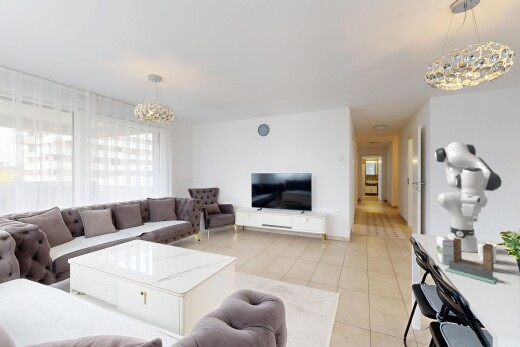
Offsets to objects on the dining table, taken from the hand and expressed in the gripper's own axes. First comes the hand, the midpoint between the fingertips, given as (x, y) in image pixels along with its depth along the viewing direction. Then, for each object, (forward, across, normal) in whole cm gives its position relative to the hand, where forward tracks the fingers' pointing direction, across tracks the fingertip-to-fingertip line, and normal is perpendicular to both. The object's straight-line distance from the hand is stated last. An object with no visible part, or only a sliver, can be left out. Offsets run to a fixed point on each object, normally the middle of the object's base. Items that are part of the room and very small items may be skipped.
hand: (472, 222), depth 117 cm
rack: (+26, -5, -1) cm, 26 cm away
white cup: (+26, -20, +3) cm, 33 cm away
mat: (+25, +11, +1) cm, 27 cm away
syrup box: (+26, +2, -11) cm, 28 cm away
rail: (+24, +11, +1) cm, 26 cm away
